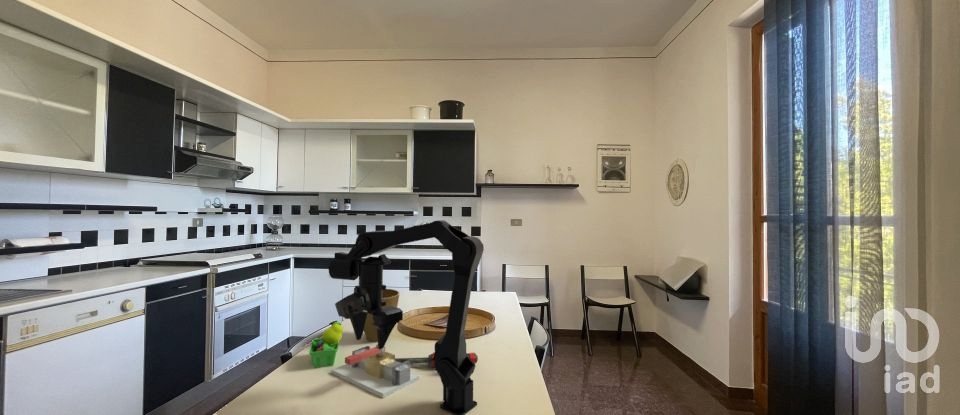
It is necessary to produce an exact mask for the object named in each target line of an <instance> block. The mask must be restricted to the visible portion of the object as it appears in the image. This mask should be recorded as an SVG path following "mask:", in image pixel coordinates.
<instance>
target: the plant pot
mask: <svg viewBox="0 0 960 415" xmlns="http://www.w3.org/2000/svg"><path fill="white" fill-rule="evenodd" d="M399 299H400V291H399V290H396V289H392V288H386V289H385V290H382V301H386V306H382V307H381V308H385V307H389V306H393V307H396V308H398V304H399ZM372 323H375V322H374V320H373V315H372V314H369V313H367V318H366V322H365V326H364V331H363V334H364V335H365V338H366V340H367V341H368V342H371V343H378V338H377V328H376V327H375V326H374V325H373V324H372Z"/></svg>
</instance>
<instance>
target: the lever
mask: <svg viewBox="0 0 960 415" xmlns="http://www.w3.org/2000/svg"><path fill="white" fill-rule="evenodd" d="M384 351H385V352H386V345H384V347H383V349H379V348H378V343H376V345H375V346H374V347H370V349H369V350H366V351H363V352H360V353H358V354H353V355H352V354H351V355H348V356H345V357H344V364H348V365H352V364H355V363H357V362H360V361H361V360H363V359H365V358H368V357H371V356H373V355H377V356H382V355H384Z"/></svg>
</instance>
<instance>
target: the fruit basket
mask: <svg viewBox="0 0 960 415" xmlns="http://www.w3.org/2000/svg"><path fill="white" fill-rule="evenodd" d="M343 331H344V327H343V325H342V323H341V322H340V321H335V322H333V324H332V325H331V326H330V327H327V329H324V331H323V333H322V338H320V337H319V338H315V339H313V340H312V342H311V345H310V348H309V351H308V352H309V355H310V356H311V361H312V364H313V367H314V369H316V368H323V367H329V366H330V367H331V366H334V363H335V359H336V355H337V352H338V349H339V342H341V339H342V337H343Z"/></svg>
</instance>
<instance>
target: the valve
mask: <svg viewBox="0 0 960 415" xmlns="http://www.w3.org/2000/svg"><path fill="white" fill-rule="evenodd" d="M434 353H435V352H432V353H430V354H429V355H428V356H425V357H424V356H423V357H403V358H401V357H395V361H397V362H400V363H403V362H405V361H407V360H408V361H410V365H415V364H416V365H418V364H419V365H420V364H427V366H428V367H430V368H433V369H435V367H434V362H435V360H434V361H432V358H433V357H434ZM466 355H467V356H468V357H469V358H470V359H471V361H472V362H473V363H474V364H475V365H476V364H477V362H478V361H479V360H478V359H479V358H478V355H477V354H476V353H475V352H469V353H467V352H466Z"/></svg>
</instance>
